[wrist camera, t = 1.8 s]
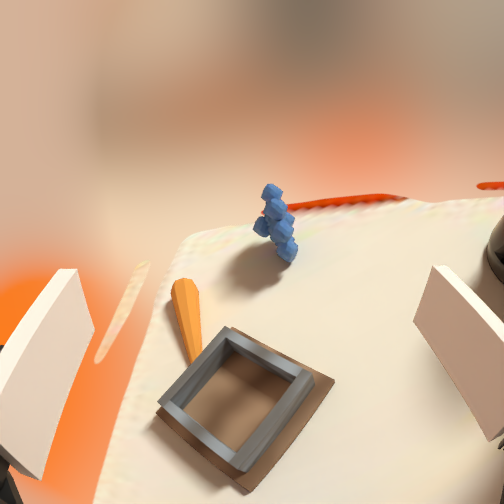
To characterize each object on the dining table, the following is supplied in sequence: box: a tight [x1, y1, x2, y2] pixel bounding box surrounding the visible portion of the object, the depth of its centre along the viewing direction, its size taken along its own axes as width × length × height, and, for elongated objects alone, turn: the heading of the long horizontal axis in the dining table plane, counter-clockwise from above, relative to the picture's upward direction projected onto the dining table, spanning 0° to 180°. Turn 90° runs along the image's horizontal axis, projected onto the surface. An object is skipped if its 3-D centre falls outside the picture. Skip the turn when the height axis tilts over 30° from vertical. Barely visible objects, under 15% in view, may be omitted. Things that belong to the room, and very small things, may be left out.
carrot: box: [171, 278, 202, 364], centre depth 43 cm, size 20×4×4 cm, turn 14°
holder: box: [156, 326, 335, 492], centre depth 33 cm, size 16×16×4 cm
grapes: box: [253, 184, 298, 262], centre depth 48 cm, size 12×7×12 cm, turn 6°
